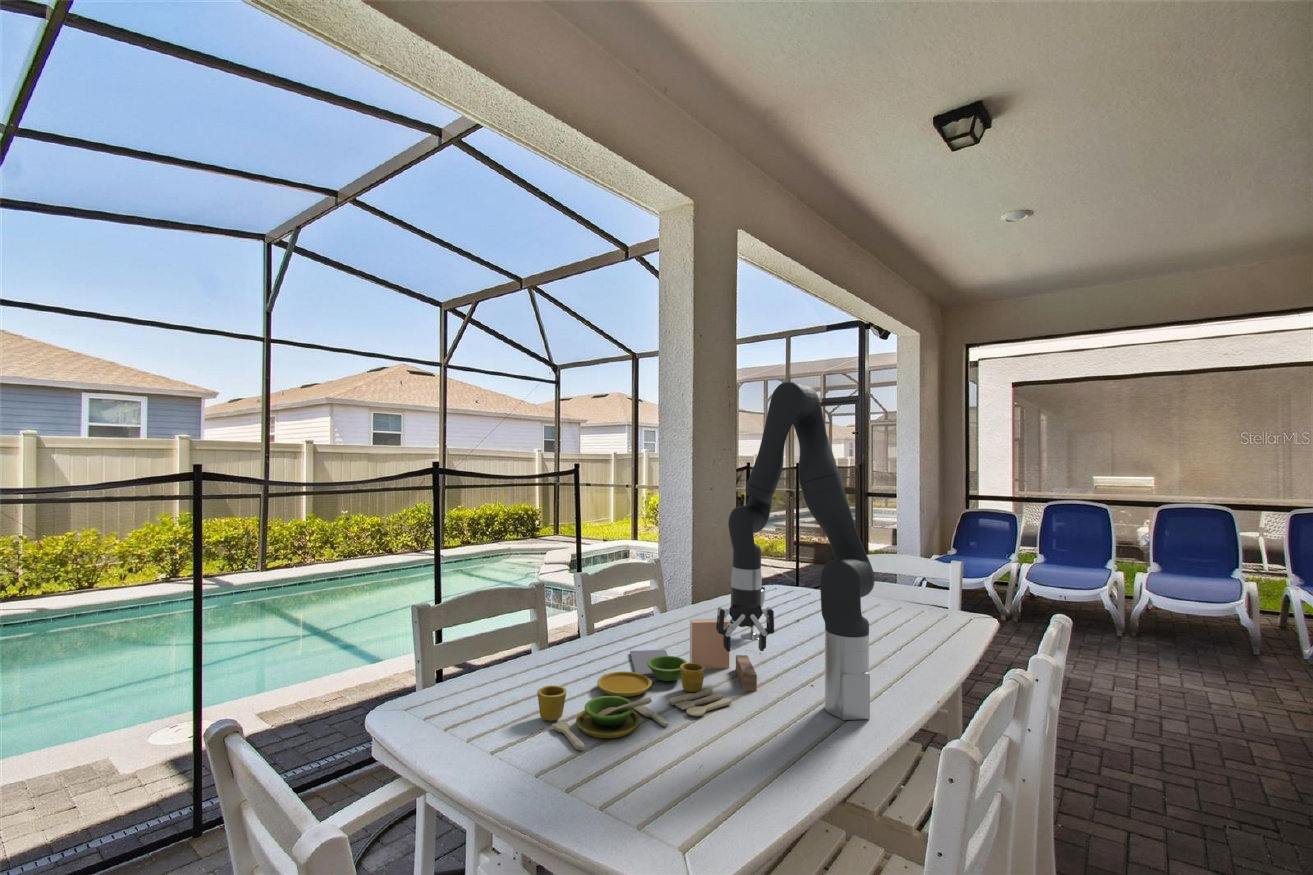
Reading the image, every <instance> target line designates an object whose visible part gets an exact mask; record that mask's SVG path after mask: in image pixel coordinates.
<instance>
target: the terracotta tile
mask: <svg viewBox="0 0 1313 875" xmlns="http://www.w3.org/2000/svg"><path fill="white" fill-rule="evenodd" d="M729 621H730V620H729V619H727V618H724V629H725V627H726V626H727V625H728V622H729ZM716 625H717V618H704V619H690V620H689V662H693V663H699V664H702V665H704V666H705V670H712V669H730V652H727V651H726V649H725V648H724V646H723V635H722V634H719V633H718V631H717V630H716Z"/></svg>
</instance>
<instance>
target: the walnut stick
mask: <svg viewBox="0 0 1313 875" xmlns="http://www.w3.org/2000/svg"><path fill="white" fill-rule="evenodd" d="M735 671H736V673H737V677H738V679H739V682H740V685H741V687H742V689H743V691H744V692H757V691H758V690H757V689H758V675H757V672H756V670H755V669H754V666H753V664H752V662H751V660H750V657H749V656H748V654H747V655H746V654H745V655H741V654H740V655H739V654H736V655H735Z"/></svg>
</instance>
